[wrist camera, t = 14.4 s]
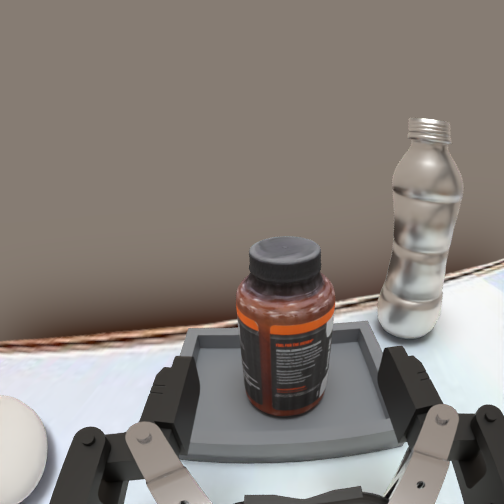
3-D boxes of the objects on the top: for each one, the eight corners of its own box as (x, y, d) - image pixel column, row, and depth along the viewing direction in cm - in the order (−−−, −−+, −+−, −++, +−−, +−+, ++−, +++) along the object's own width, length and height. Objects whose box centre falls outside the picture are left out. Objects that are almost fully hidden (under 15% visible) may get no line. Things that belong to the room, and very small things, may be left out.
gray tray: (363, 342, 27) (367, 320, 26) (402, 445, 16) (413, 425, 15) (192, 349, 28) (188, 328, 27) (164, 457, 17) (154, 438, 16)
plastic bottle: (367, 312, 32) (380, 116, 24) (422, 308, 31) (444, 124, 23) (382, 350, 26) (407, 115, 18) (443, 343, 25) (481, 127, 17)
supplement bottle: (341, 390, 21) (361, 247, 16) (280, 434, 18) (280, 283, 13) (288, 353, 25) (289, 224, 21) (229, 386, 22) (211, 246, 18)
